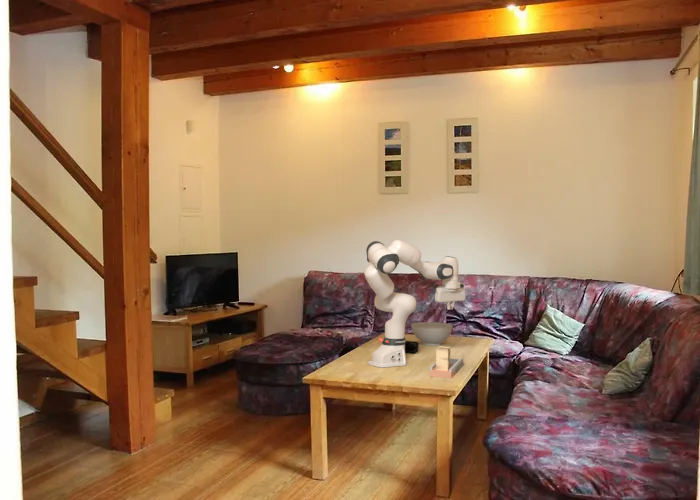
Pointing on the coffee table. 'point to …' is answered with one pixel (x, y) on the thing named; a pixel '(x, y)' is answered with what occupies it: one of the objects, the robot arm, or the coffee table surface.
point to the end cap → (411, 347)
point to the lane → (454, 367)
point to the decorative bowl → (431, 332)
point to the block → (443, 358)
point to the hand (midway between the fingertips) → (450, 309)
